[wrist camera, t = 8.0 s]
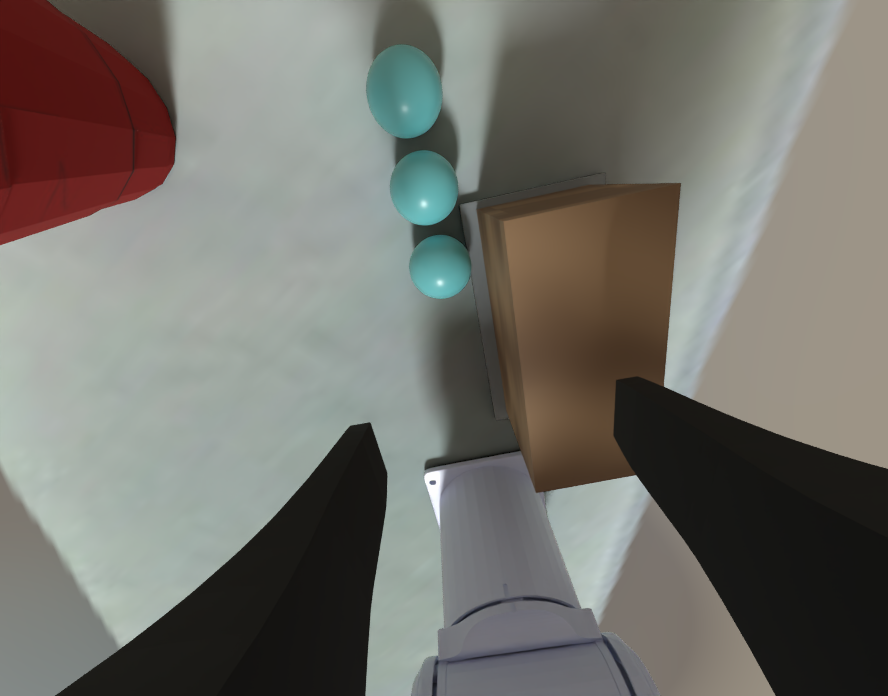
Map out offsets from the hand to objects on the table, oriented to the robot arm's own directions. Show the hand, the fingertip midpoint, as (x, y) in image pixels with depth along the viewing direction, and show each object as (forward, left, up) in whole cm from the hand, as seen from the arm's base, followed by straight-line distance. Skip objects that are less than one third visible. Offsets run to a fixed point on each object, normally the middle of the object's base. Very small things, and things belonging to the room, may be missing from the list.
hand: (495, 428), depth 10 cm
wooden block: (-1, -4, -10) cm, 11 cm away
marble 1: (+7, +1, -10) cm, 12 cm away
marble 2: (+3, +1, -10) cm, 11 cm away
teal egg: (+10, +1, -10) cm, 14 cm away
